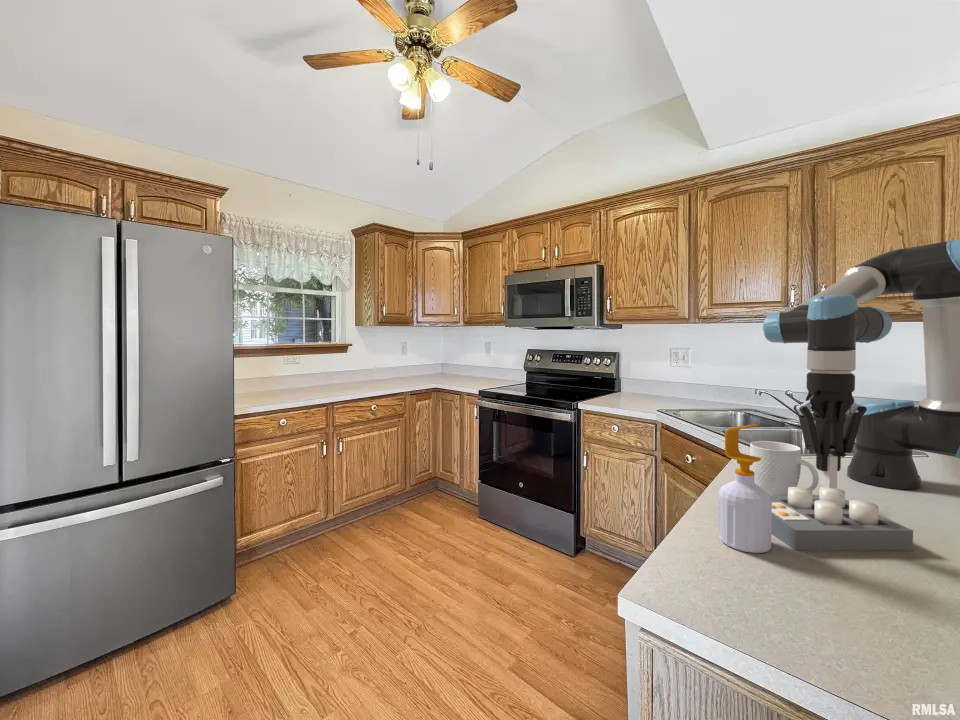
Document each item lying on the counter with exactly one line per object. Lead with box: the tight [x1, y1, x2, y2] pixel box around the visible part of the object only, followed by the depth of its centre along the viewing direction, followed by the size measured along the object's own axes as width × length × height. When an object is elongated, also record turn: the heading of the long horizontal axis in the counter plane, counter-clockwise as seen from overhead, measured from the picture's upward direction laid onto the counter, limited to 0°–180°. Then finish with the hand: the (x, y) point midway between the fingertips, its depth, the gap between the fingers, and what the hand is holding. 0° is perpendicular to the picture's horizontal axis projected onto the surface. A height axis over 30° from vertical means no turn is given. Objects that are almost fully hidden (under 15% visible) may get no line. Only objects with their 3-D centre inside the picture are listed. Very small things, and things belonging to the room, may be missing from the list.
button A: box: [818, 486, 846, 509], centre depth 93 cm, size 4×4×4 cm
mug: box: [749, 440, 819, 496], centre depth 108 cm, size 15×11×13 cm
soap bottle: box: [718, 423, 772, 554], centre depth 84 cm, size 9×9×25 cm
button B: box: [848, 499, 879, 525], centre depth 85 cm, size 4×4×4 cm
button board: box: [770, 495, 914, 552], centre depth 89 cm, size 22×18×4 cm
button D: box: [814, 500, 842, 525], centre depth 85 cm, size 4×4×4 cm
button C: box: [788, 486, 814, 509], centre depth 93 cm, size 4×4×4 cm
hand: (827, 486), depth 85 cm, fingers closed
